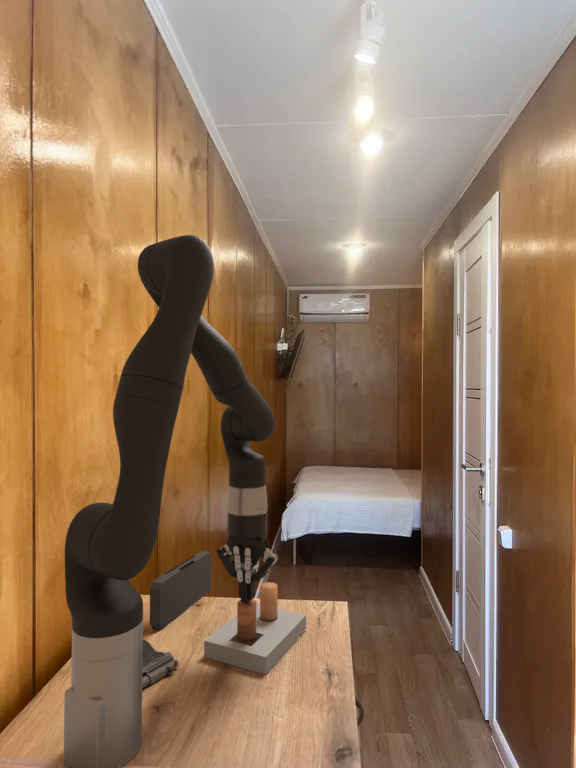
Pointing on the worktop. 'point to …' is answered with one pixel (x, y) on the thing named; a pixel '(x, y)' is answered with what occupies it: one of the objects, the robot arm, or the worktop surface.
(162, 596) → the handheld gaming console
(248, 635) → the cherry peg
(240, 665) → the jig board
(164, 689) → the worktop surface
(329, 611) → the worktop surface
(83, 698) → the robot arm
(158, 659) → the handgun
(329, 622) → the worktop surface
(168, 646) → the worktop surface
